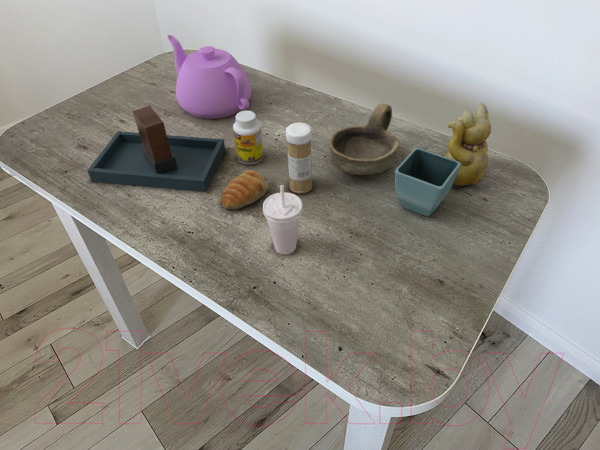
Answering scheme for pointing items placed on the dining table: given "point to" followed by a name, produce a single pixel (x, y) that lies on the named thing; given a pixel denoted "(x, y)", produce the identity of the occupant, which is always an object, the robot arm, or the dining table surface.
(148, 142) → the eraser
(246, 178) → the pastry
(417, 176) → the flower pot
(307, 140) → the spice jar
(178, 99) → the teapot
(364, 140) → the bowl
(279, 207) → the smoothie
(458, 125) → the decorative figurine
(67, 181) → the dining table surface
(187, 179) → the tray
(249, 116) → the supplement bottle
